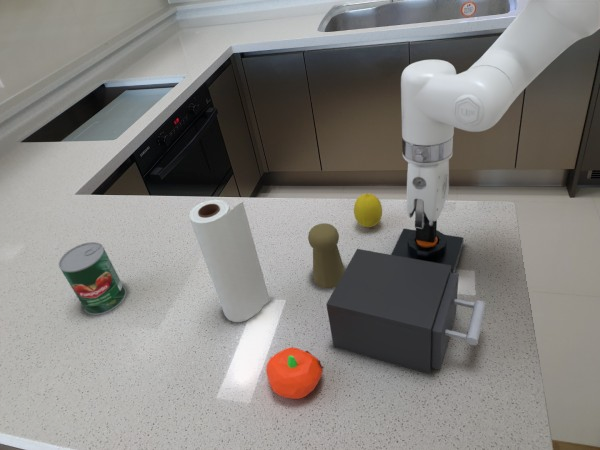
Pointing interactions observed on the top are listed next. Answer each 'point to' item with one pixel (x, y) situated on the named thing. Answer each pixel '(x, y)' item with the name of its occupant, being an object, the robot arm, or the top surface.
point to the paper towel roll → (230, 258)
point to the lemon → (368, 210)
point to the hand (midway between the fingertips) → (426, 238)
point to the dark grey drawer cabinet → (388, 308)
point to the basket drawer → (446, 319)
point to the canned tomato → (92, 278)
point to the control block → (430, 248)
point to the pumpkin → (293, 373)
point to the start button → (427, 243)
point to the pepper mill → (325, 255)
